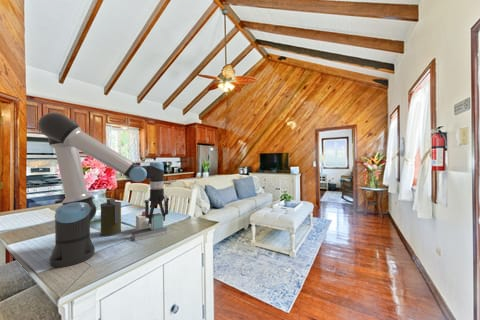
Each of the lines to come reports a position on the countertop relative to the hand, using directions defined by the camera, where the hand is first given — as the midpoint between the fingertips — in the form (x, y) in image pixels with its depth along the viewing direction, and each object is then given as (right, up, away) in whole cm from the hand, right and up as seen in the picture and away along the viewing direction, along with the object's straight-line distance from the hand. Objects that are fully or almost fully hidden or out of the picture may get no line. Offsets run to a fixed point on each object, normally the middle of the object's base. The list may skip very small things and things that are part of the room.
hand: (157, 227), depth 116 cm
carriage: (0, -2, 0) cm, 2 cm away
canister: (-27, -3, +1) cm, 27 cm away
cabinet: (-10, -3, +6) cm, 12 cm away
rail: (-3, -3, -3) cm, 5 cm away
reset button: (-10, +4, +6) cm, 12 cm away
